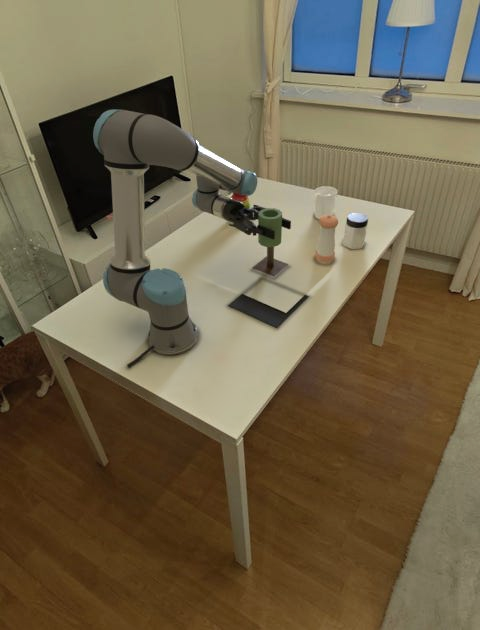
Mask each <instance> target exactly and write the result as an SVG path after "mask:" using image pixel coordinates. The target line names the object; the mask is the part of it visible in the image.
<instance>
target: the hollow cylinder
mask: <svg viewBox="0 0 480 630" xmlns="http://www.w3.org/2000/svg"><path fill="white" fill-rule="evenodd" d="M265 208H266V209H262V210H261V211H259V214H258V220H257V225H261V226H263V227H266V228H269V229H271V230H274V231H275V239H270V238H268V237H265V236H263V235H259V234H257V236H258V237H257V238H258V240H257V241H258V244H259V245H260V246H263V247H265V248H267V247H274V248H275V247H278V246H279V245H281V244H282V232H283V231H282V230H283V227H282V218H283V212H282V211H281V210H280V209H278V208H274V207H265Z"/></svg>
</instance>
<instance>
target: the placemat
mask: <svg viewBox="0 0 480 630" xmlns="http://www.w3.org/2000/svg"><path fill="white" fill-rule="evenodd" d="M308 298H309V295H307V294H304V295H303V296H302V297H301V298H300V299H299V300H298V301H297V302H296V303H295V304H294V305H293V306H291V308H289V309H288V310H287V311H286V312H285V311H284V310H281V309H278V308H276V307H274V306H271V305H270V304H267V303H264V302H262V301H260V300H258V299H255V298H253V297H252V296H251V297H250V296H248V295H246V294H243V293H241V294H240V295H239V296H237V297H236V298H235V299H234V300H233V301H231V302H230V303H229V304H228V307H230V308H232V309H234V310H236V311H239V312H241V313H243V314H245V315H248V316H250V317H252V318H253V319H256V320H258V321H261V322H262V323H265V324H267V325H269V326H271V327H273V328H276V329H278V328H279V327H280V326H281V325H282V324H283V323H284V322H285V321H286V320H287V319H288V318H289V317H290V316H291V315H293V313H294V312H295V311H296V310H297V309H298V308H299V307H300V306H301V305H303V303H304V302H306V301H307V300H308Z"/></svg>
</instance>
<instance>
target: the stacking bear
mask: <svg viewBox="0 0 480 630" xmlns="http://www.w3.org/2000/svg"><path fill="white" fill-rule="evenodd" d="M230 198H232V199H234V200H237V201H240V202H242V203H243V205H244V206H245V207H249V208H251V202H250V198H249V196H247V195H242V194H238V193H234V192H232V195H231V197H230Z"/></svg>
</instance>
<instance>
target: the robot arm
mask: <svg viewBox="0 0 480 630" xmlns="http://www.w3.org/2000/svg"><path fill="white" fill-rule="evenodd" d="M92 137H93V142H94V143H93V144H94V146H95V148H96V149H97V150H98V152H99V153H100V154H102V155H103V161H104V162H103V163H104V167H105V168H106V169H107V170H109V172H110V180H111V200H112V220H113V221H112V222H113V237H114V239H113V240H114V256H113V257H111V258H110V261H109V264H108V265H107V266H106V267H105V271H104V272H103V277H102V283H103V287H104V289H105V291H106V292H107V294H109V295H110V296H111V297H112V298H114V299H116V300H118V301H120V302H123V303H126V304H128V305H130V306H133V307H136V308H137V309H141V310H143V311H146V312H147V313H148V316H149V320H150V325H149V331H148V337H147V338H148V344H149V346H150V347H148V348H147V349H145V350H144V351H143V352H142V353H141V354H140V355H139V356H138V357H136V358H135V359H133V360H132V361H131V362H129V363H127V364H126V366H127V368H130V367H132V366H133V365H135V364H136V363H138V362H139V361H140V360H142V358H144V357H145V356H146V355H148V354H149V353H150V352H151V351H152V350H153V351H154V352H155V353H157V354H160V355H163V356H176V355H180V354H181V355H182V354H183V353H186V352H188V351H189V350H190V349H192V348H194V346H195V345H196V343H197V341H198V330H197V325H196V323H194V321H193V320H192V319H191V317H190V314H189V305H188V299H187V290H186V289H187V288H186V286H185V282H184V280H183V277H182V276H181V274H179V272H177V271H175V270H173V269H170V268H165V267H164V268H162V269H160V268H154V269H151V259H150V258H149V257H148V256H147V255H146V232H145V228H146V225H145V223H146V222H145V176H144V174H145V173H146V172H147V171H148V170H149V169H150V166H157V167H166V168H170V169H173V170H175V171H178V172H186V171H187V172H190V173H191V174H194V175H195V178H196V189H195V190H194V191H193V193H192V197H191V203H192V205H193V206H194V207H195V208H196V209H198V210H200V211H201V212H203V213H206V214H210V215H213V216H214V217H217V218H220V219H222V220H225V221H227V222H228V226H229V227H232V228H235V229H236V230H238V231H240V232H242V233H244V234H245V235H247V236H251V235H252V236H257V235H258V234H259V235H263V236H265V237H268V238H270V239H275V231H274V230H271V229H269V228H266V227H263V226H261V225H258V224H257V225H256V224H255V223H254V222H253V221H256V220H257V221H258V214H259V211H261V210H262V209H266V208H267V207H263V206H259V205H258V204H253V205H252V206H253V207H250V208H249V207H245V206H244V205H243V203H242V202H240V201H237V200H234V199H232V198H231V197H229V196H226V195H223V194H222V193H220V190H221V191H225V192H230V193H233V192H234V193H238V194H242V195H247V196H248V197H249V196H252V195H254V193H255V192H256V190H257V187H258V176H257V174H256V172H253V171H249V170H246V169H242V168H240V167H238V166H236V165H235V164H233V163H231V162H229V160H226V159H225V158H223V157H222V156H220V155H218V154H216V153H214V152H213V151H212V150H210V149H208V148H206V147H204V146H203V145H201V144H200V143H199V141H198V140H197V139H196V137H195V136H193V135H192V134H190V133H189V132H187V131H185V129H182V128H181V127H179V126H178V125H176V124H174V123H173V122H171V121H169V120H168V119H165V118H163V117H161V116H158V115H155V114H147V113H142V112H136V111H131V110H126V109H108V110H106V111H104V112H103V113H102V114H100V117H98V118H97V119H96V122H95V124H94V127H93V132H92ZM282 228H284V229H287V230H291V228H292V221H291V220H290V219H287V218H284V217H282Z"/></svg>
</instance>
